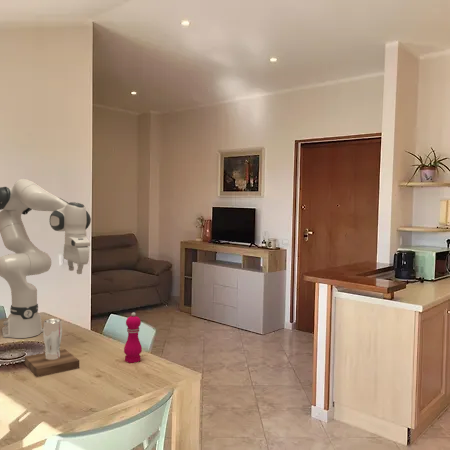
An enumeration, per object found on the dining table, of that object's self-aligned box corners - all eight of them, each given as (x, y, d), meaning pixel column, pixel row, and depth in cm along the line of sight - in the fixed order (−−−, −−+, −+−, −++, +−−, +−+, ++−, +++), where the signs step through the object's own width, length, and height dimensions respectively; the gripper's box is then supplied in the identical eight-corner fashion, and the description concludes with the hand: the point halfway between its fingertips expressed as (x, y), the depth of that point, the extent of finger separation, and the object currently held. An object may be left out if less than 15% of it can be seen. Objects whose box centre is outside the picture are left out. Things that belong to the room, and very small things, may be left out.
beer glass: (46, 362, 178) (47, 324, 178) (40, 357, 184) (40, 320, 183) (64, 358, 183) (65, 321, 182) (58, 353, 188) (58, 317, 187)
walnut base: (24, 364, 184) (24, 356, 184) (64, 356, 194) (64, 349, 194) (37, 377, 172) (37, 369, 172) (79, 367, 182) (79, 360, 182)
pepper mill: (135, 356, 197) (136, 309, 196) (145, 360, 192) (146, 312, 191) (120, 359, 192) (121, 312, 191) (130, 364, 187) (130, 315, 186)
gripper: (59, 238, 207) (59, 269, 208) (77, 243, 191) (76, 276, 192) (73, 237, 211) (73, 268, 212) (91, 242, 195) (91, 275, 196)
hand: (75, 272), depth 202 cm, fingers open, 8 cm apart
